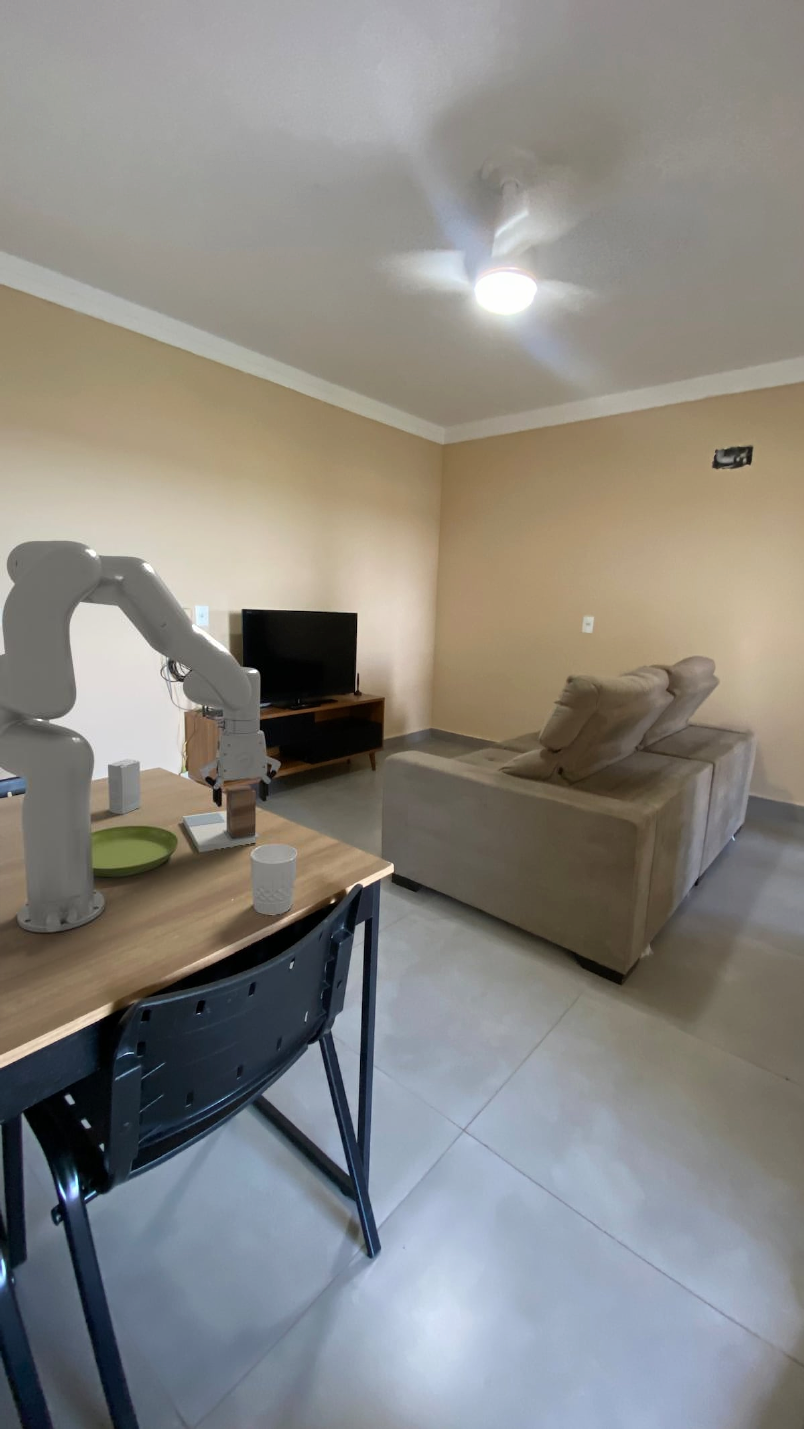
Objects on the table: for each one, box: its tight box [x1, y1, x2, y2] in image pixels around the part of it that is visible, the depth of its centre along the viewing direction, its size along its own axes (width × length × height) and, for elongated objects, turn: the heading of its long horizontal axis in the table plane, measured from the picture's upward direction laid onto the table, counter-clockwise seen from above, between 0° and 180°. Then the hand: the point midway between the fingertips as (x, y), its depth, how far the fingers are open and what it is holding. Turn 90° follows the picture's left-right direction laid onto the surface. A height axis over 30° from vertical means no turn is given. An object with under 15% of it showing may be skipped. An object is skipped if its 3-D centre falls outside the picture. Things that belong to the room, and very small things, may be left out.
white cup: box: [250, 843, 298, 916], centre depth 103 cm, size 8×8×10 cm
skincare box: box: [107, 758, 142, 815], centre depth 143 cm, size 6×4×12 cm
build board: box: [182, 810, 261, 853], centre depth 134 cm, size 18×13×2 cm
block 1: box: [225, 784, 257, 817], centre depth 129 cm, size 5×5×5 cm
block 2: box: [226, 810, 257, 839], centre depth 130 cm, size 5×5×5 cm
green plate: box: [91, 825, 180, 878], centre depth 118 cm, size 21×21×3 cm
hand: (241, 802), depth 129 cm, fingers open, 9 cm apart
